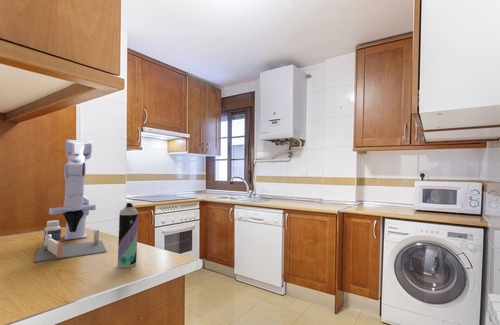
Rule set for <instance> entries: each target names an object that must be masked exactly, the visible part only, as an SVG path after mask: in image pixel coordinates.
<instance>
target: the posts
mask: <svg viewBox="0 0 500 325" xmlns="http://www.w3.org/2000/svg"><path fill="white" fill-rule="evenodd" d="M48 238H52V234H47V235H45V246H44V245H43V247H44V251H49V250H47V246H48ZM99 238H100V229H94V230H93V241H94V245H96V244H98V243H99V241H100V239H99Z"/></svg>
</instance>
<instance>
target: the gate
mask: <svg viewBox="0 0 500 325" xmlns="http://www.w3.org/2000/svg"><path fill="white" fill-rule="evenodd" d="M63 245H64V242H60V243H59V242H57V241H56V240H54V239H52V238H48V246H47V250H49V251H50V252H52V253H53V254H55V255H56V256H57V258H60V257H63Z"/></svg>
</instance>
